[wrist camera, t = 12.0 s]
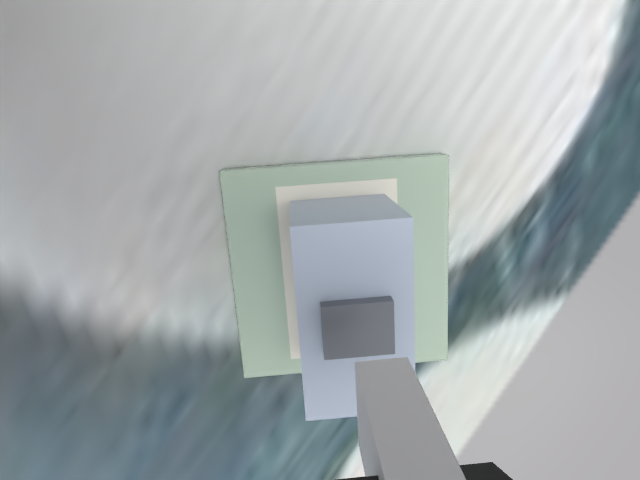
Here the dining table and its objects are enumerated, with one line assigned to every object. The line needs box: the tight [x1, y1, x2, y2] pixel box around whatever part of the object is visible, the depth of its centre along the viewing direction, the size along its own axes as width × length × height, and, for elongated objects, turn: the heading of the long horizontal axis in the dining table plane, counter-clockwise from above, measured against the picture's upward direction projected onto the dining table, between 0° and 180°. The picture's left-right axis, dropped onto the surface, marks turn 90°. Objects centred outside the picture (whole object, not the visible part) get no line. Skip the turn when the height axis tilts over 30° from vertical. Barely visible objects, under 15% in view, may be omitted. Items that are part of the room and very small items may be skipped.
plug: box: [290, 194, 415, 421], centre depth 22 cm, size 9×5×7 cm, turn 4°
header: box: [219, 153, 449, 378], centre depth 24 cm, size 12×12×5 cm
